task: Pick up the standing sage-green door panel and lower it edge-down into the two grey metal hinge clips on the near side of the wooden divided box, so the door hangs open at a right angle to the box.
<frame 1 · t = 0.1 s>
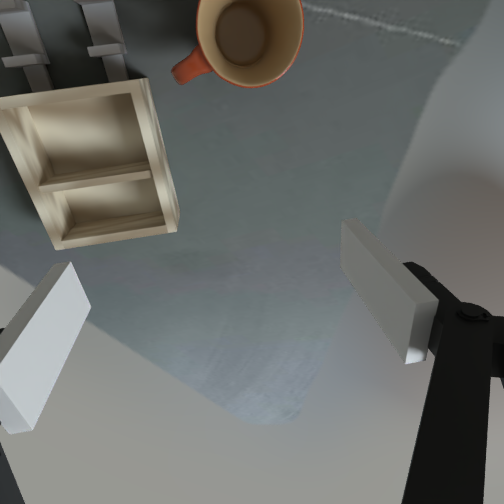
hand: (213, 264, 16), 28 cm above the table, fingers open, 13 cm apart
mug: (226, 45, 36), on the table
wooden divided box: (107, 159, 40), on the table
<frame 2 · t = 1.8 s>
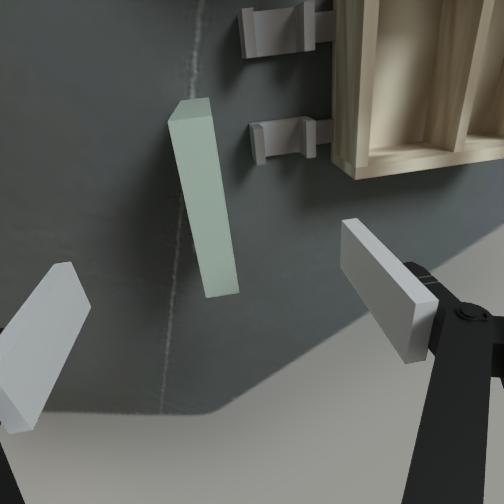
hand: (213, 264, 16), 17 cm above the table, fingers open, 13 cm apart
wooden divided box: (419, 70, 29), on the table
door: (206, 168, 31), on the table
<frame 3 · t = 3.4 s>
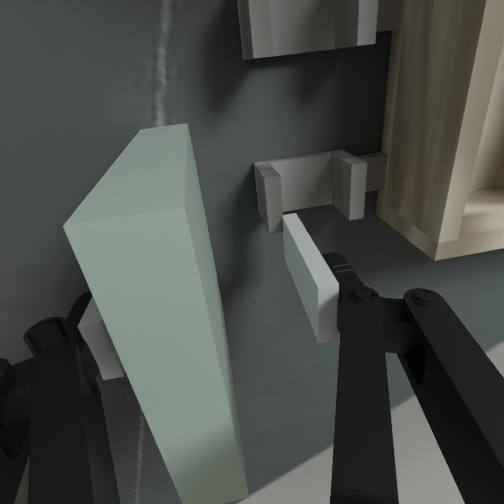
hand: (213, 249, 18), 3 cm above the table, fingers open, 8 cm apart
door: (187, 230, 20), on the table
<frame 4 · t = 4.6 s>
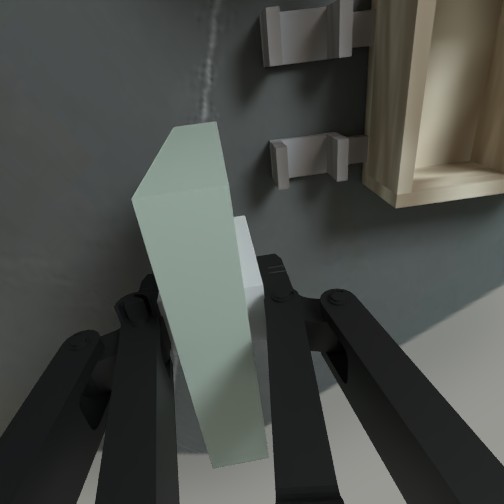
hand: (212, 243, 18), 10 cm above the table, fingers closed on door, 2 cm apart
wooden divided box: (469, 79, 25), on the table
door: (212, 221, 22), point 7 cm above the table, touching gripper
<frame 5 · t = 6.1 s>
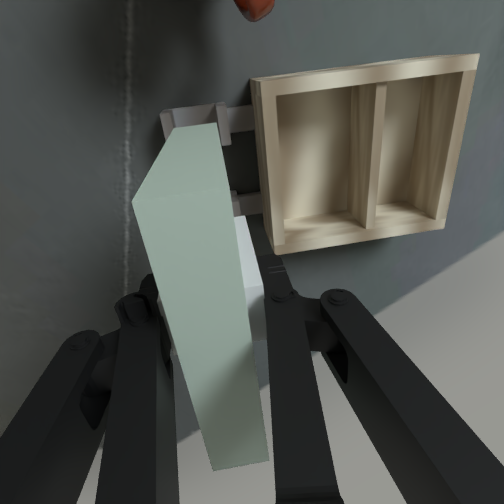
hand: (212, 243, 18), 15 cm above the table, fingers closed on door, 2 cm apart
wooden divided box: (339, 149, 32), on the table
door: (212, 222, 21), point 11 cm above the table, touching gripper
when the fingers open (3 cm above the table, at t = 7.9 s): door stays where it is, resting on wooden divided box.
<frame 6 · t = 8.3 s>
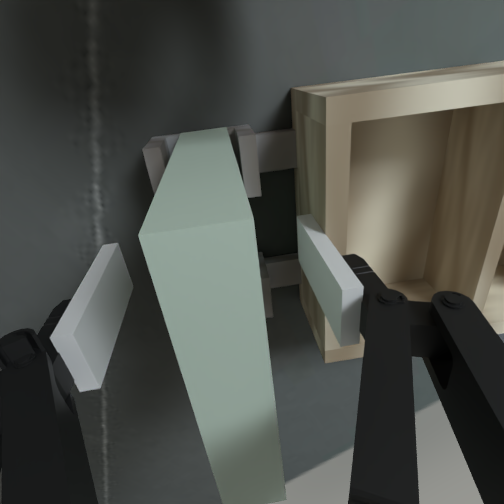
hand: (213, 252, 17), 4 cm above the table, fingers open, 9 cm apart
wooden divided box: (419, 193, 21), on the table
door: (221, 232, 20), point 1 cm above the table, touching wooden divided box
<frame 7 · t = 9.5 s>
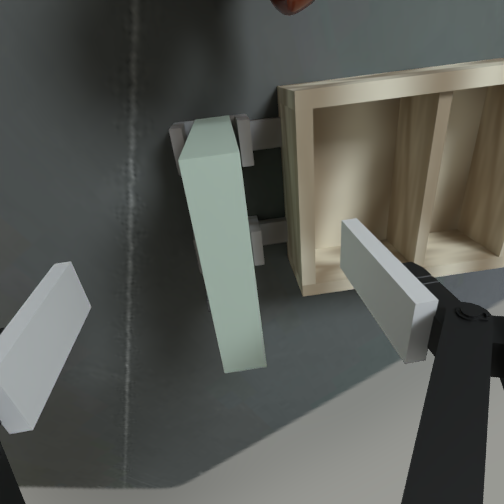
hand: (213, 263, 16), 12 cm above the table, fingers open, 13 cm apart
wooden divided box: (379, 169, 27), on the table
door: (224, 197, 26), point 1 cm above the table, touching wooden divided box
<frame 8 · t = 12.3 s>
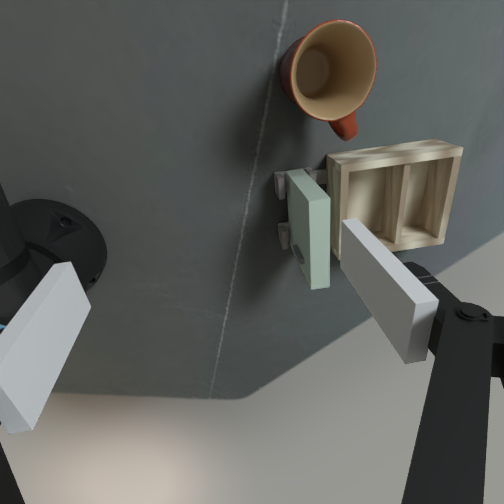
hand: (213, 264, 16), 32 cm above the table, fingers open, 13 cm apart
mug: (310, 84, 42), on the table
wooden divided box: (377, 193, 51), on the table
door: (295, 209, 50), point 1 cm above the table, touching wooden divided box
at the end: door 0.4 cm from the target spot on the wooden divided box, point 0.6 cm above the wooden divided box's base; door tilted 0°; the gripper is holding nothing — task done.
